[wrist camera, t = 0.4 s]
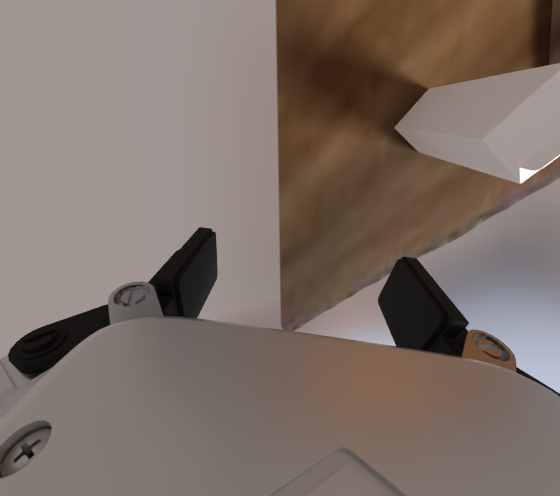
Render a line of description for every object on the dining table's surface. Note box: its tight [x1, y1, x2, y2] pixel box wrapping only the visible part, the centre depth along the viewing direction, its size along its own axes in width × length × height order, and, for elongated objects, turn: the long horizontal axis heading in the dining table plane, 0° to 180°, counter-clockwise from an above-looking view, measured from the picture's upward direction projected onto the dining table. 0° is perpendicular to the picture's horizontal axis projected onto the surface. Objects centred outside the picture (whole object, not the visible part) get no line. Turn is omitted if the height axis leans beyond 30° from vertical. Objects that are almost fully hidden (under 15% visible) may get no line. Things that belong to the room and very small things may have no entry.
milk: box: [394, 63, 560, 184], centre depth 23 cm, size 6×6×22 cm
